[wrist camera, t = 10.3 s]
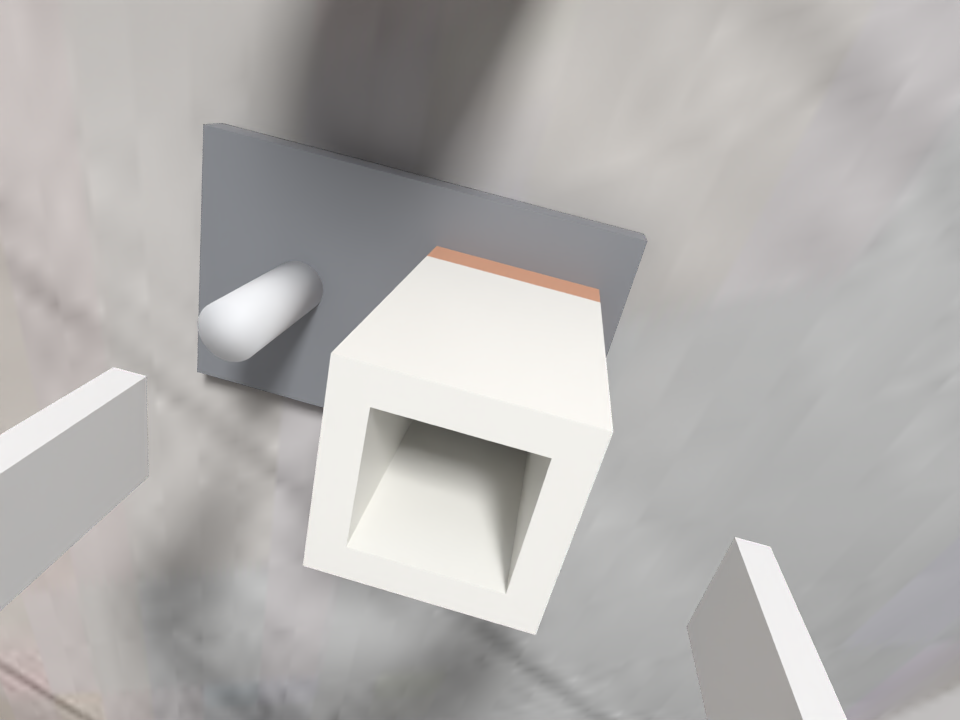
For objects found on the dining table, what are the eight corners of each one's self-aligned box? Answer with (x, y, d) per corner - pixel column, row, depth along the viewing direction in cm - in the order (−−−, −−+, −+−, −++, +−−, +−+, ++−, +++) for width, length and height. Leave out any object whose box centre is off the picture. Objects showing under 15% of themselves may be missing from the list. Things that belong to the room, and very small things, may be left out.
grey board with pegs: (213, 360, 26) (112, 431, 21) (222, 123, 22) (99, 130, 16) (564, 459, 25) (560, 561, 20) (643, 234, 21) (666, 281, 16)
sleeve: (408, 389, 24) (302, 565, 15) (436, 245, 21) (331, 353, 12) (552, 429, 24) (535, 635, 15) (598, 289, 21) (613, 431, 12)
